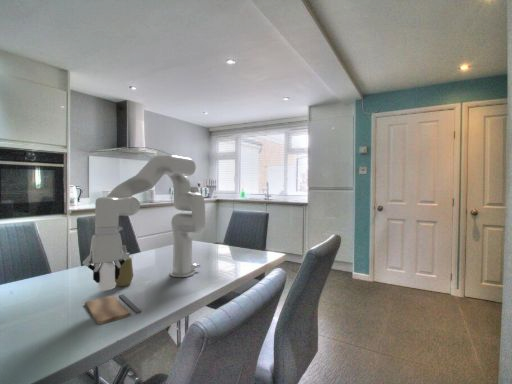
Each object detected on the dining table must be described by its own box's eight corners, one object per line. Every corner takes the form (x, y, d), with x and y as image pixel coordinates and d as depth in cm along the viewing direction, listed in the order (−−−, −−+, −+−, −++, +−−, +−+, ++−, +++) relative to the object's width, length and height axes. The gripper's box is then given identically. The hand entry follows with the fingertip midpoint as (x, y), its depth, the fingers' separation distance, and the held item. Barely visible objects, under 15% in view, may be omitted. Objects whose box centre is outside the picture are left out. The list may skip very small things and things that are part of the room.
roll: (111, 257, 99) (94, 257, 99) (110, 290, 100) (94, 290, 99) (118, 253, 105) (102, 253, 105) (117, 284, 106) (102, 284, 105)
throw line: (123, 295, 116) (123, 294, 116) (141, 312, 101) (141, 310, 101) (119, 296, 115) (119, 295, 115) (136, 313, 100) (136, 312, 100)
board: (113, 297, 114) (113, 295, 114) (130, 315, 99) (130, 312, 99) (85, 304, 107) (85, 302, 107) (98, 324, 92) (98, 321, 92)
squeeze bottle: (137, 282, 131) (137, 244, 131) (123, 288, 123) (124, 248, 123) (123, 280, 134) (123, 243, 133) (109, 286, 126) (109, 246, 126)
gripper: (128, 227, 111) (127, 272, 111) (77, 231, 99) (77, 282, 99) (134, 230, 105) (134, 277, 105) (82, 234, 93) (81, 288, 94)
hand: (106, 279), depth 102 cm, fingers closed on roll, 5 cm apart
